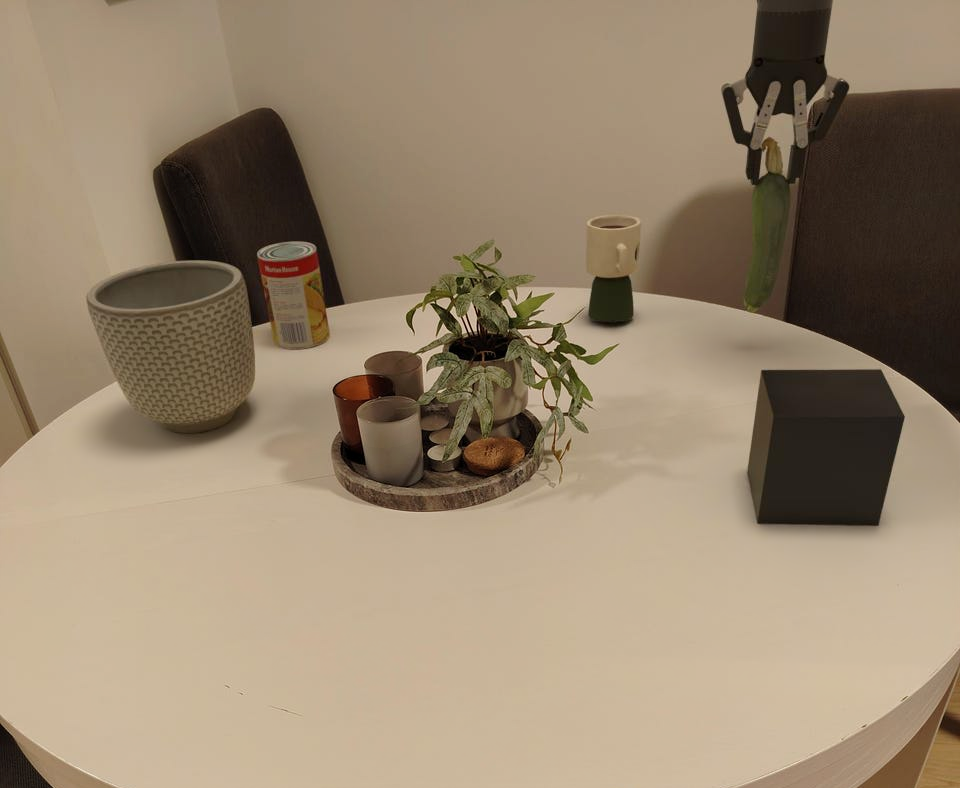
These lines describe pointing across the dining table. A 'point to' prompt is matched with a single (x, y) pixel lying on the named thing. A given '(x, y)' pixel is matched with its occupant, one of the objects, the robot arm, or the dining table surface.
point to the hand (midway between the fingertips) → (772, 182)
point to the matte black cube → (823, 446)
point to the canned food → (294, 294)
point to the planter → (178, 340)
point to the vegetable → (767, 228)
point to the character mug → (612, 265)
